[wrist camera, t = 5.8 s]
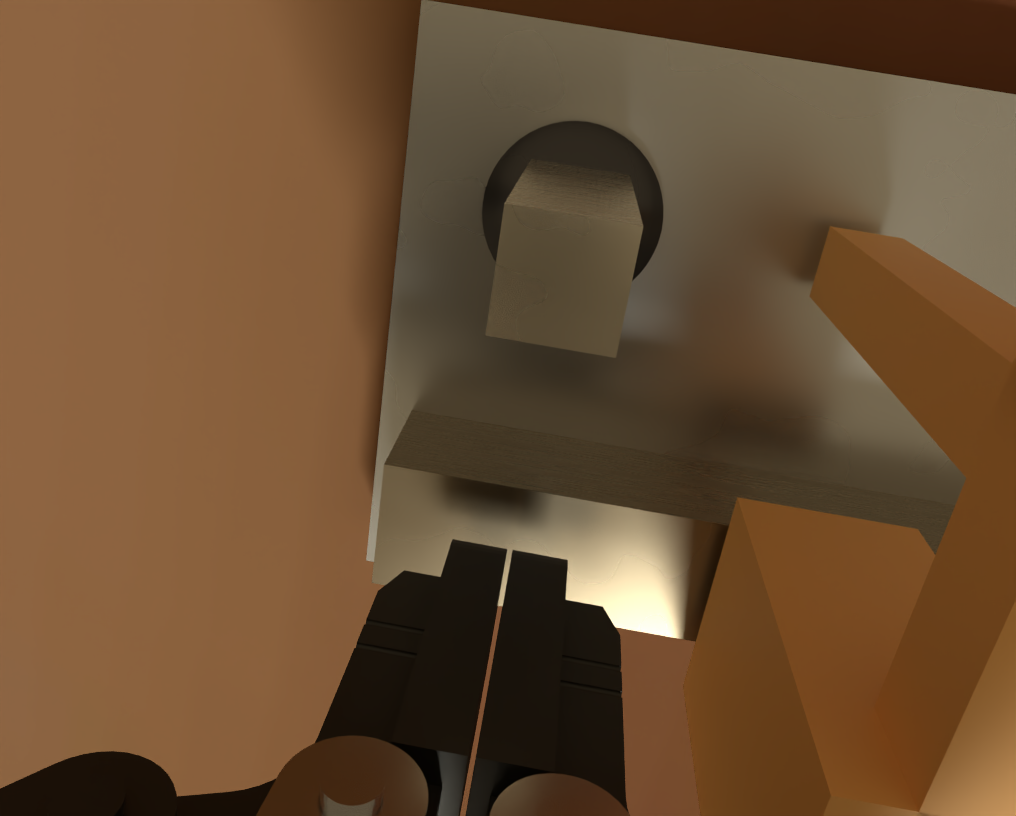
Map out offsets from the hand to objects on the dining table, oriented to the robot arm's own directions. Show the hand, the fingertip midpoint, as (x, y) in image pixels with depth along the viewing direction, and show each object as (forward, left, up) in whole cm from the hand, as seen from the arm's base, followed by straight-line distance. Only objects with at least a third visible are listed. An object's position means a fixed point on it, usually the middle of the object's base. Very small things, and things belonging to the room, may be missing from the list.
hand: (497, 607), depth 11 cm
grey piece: (+3, +7, -5) cm, 9 cm away
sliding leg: (+2, +4, -3) cm, 5 cm away
